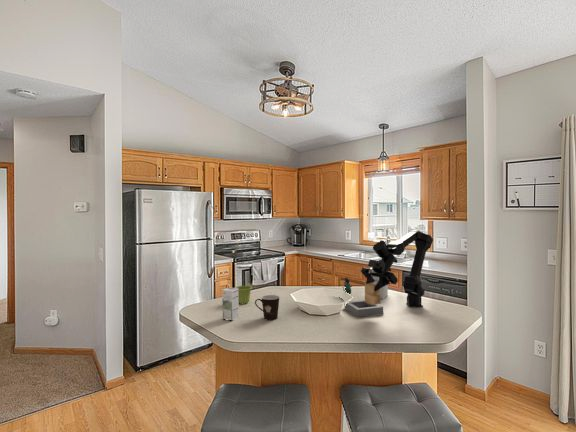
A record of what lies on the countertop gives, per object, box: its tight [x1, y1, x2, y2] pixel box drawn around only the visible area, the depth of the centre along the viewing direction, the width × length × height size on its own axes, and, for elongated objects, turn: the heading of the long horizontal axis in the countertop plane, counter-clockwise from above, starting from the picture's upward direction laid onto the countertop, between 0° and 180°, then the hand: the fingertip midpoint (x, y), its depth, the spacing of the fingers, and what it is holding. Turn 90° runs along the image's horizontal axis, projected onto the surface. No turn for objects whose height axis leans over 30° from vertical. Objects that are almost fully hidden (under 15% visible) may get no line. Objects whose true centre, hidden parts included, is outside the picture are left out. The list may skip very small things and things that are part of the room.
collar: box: [344, 299, 384, 318], centre depth 164 cm, size 14×14×4 cm
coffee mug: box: [254, 294, 280, 321], centre depth 156 cm, size 12×9×10 cm
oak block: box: [364, 283, 381, 305], centre depth 154 cm, size 5×5×9 cm
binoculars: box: [343, 277, 353, 295], centre depth 193 cm, size 9×11×10 cm
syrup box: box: [221, 287, 240, 321], centre depth 154 cm, size 6×6×14 cm
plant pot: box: [234, 285, 253, 304], centre depth 182 cm, size 9×9×9 cm
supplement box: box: [369, 267, 389, 300], centre depth 192 cm, size 10×9×17 cm
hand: (370, 289), depth 153 cm, fingers closed on oak block, 5 cm apart
